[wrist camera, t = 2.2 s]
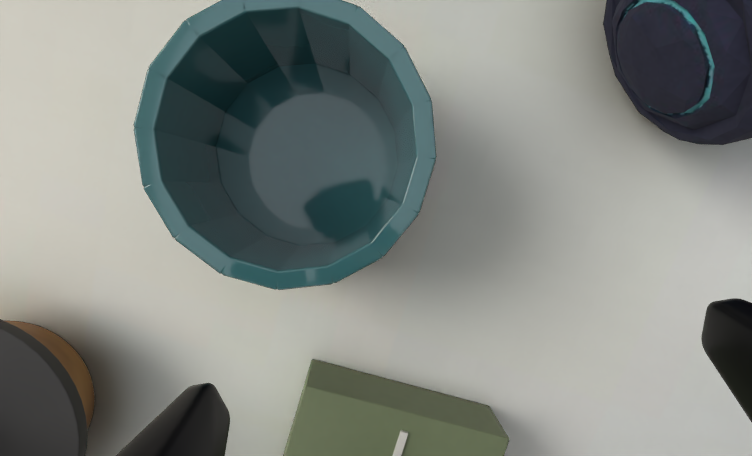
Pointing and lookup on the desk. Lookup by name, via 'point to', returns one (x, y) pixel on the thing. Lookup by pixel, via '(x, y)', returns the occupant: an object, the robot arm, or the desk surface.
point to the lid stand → (65, 363)
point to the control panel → (387, 419)
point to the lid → (37, 400)
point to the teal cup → (285, 140)
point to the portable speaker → (686, 64)
